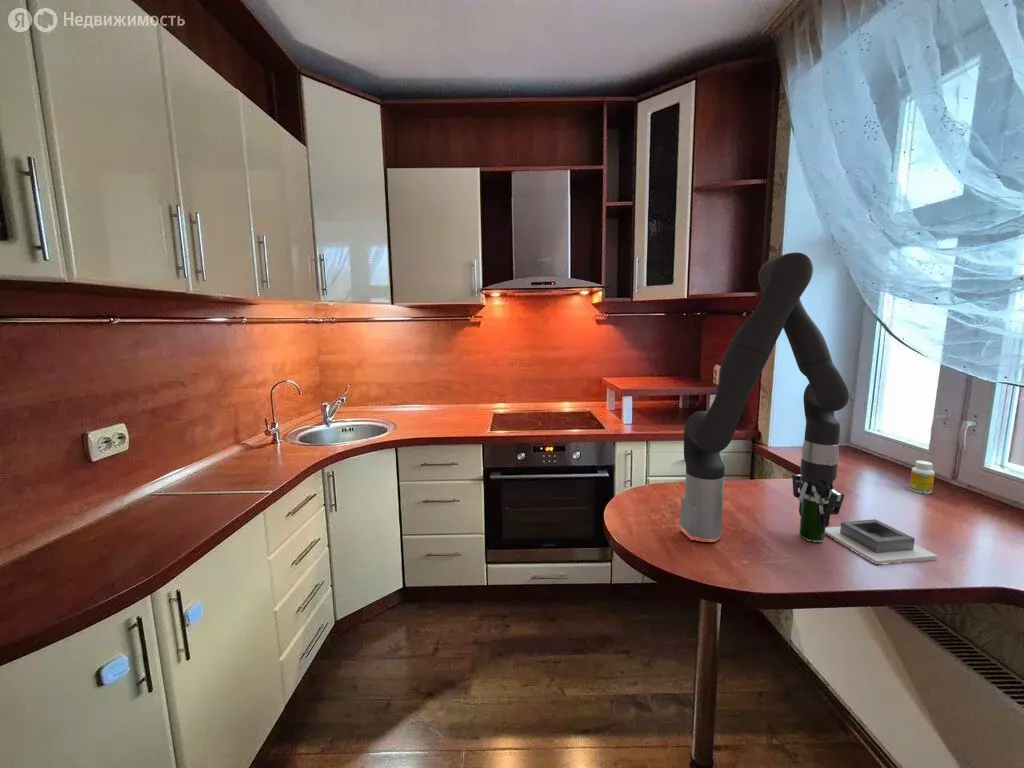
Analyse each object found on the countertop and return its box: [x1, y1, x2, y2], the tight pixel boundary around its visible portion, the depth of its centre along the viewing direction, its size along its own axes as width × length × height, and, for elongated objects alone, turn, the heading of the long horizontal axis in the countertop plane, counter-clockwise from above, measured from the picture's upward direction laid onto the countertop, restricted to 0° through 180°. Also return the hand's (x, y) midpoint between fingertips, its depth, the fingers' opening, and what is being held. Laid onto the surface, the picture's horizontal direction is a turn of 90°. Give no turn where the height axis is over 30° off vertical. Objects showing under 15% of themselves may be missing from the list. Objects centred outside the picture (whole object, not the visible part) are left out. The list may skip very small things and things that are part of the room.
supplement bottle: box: [908, 460, 935, 495], centre depth 139 cm, size 5×5×10 cm
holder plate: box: [825, 525, 939, 564], centre depth 108 cm, size 16×16×1 cm
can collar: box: [840, 518, 915, 553], centre depth 108 cm, size 10×10×3 cm
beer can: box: [798, 492, 827, 543], centre depth 111 cm, size 5×5×12 cm
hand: (813, 521), depth 111 cm, fingers closed on beer can, 5 cm apart
